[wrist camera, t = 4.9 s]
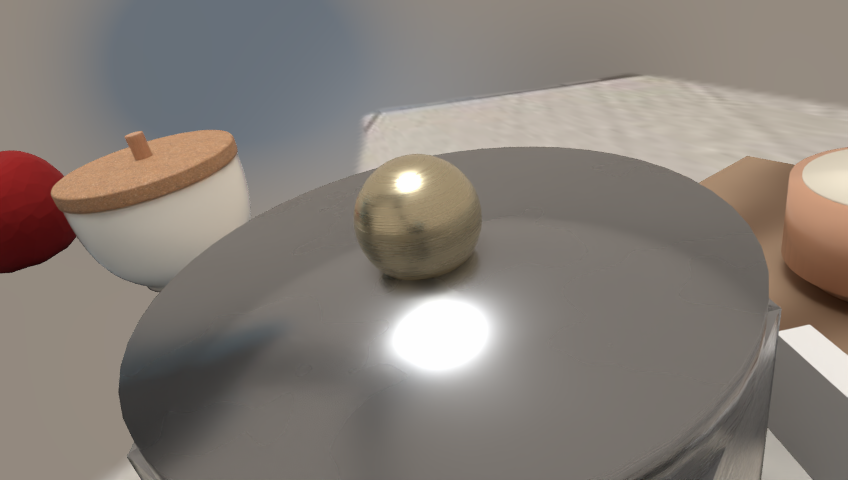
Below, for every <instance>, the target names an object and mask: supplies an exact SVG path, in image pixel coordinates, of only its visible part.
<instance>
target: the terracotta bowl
mask: <svg viewBox="0 0 848 480" xmlns="http://www.w3.org/2000/svg"><path fill="white" fill-rule="evenodd" d="M781 254H782V257H783V259H784V261H785V263H786V264H787V265H788V267H789V268H790V269H791V270H792V271H794V272H795V273H796V274H797V275H799V276H800V277H801V278H803V279H805V280H806V281H808V282H810V283H811V284H813V285H816V286H817V287H819V288H820V289H821V290H823V291H825V292H826V293H828V294H830V295H832V296H834V297H836V298H839V299H841V300H844V301H847V302H848V147H846V148H840V149H834V150H830V151H825V152H822V153H818V154H815V155H813V156H810V157H808V158H806V159H804V160H802V161H800V162H799V163H797V164H796V165H795V166H794V167H793V168H792V170H791V172H790V176H789V184H788V193H787V202H786V210H785V219H784V228H783V237H782V246H781Z"/></svg>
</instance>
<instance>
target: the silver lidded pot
mask: <svg viewBox="0 0 848 480" xmlns="http://www.w3.org/2000/svg"><path fill="white" fill-rule="evenodd" d="M781 310H782V309H781V307H780V306H778V305H777V304H775V303H774V302H773V301H772V300H771V299H769V271H768V267H767V264H766V260H765V257H764V253H763V250H762V246H761V245H760V243H759V241H758V240H757V238H756V236H755V234H754V233H753V231H752V229H751V228H750V226H749V224H748V223H747V222H746V221H745V220H744V219H743V218H742V217H741V216H740V215H739V213H738V212H737V211H736V210H735V209H734V208H733V207H732V206H731V205H730V204H728V203H727V202H726V201H724V200H723V199H722V198H721V197H719V196H718V195H717V194H715V193H714V192H713V191H711V190H710V189H708V188H706V187H704V186H703V185H701V184H699V183H697V182H695V181H694V180H692V179H690V178H688V177H686V176H683V175H681V174H679V173H676V172H674V171H672V170H669V169H667V168H664V167H661V166H658V165H655V164H652V163H648V162H645V161H642V160H638V159H634V158H629V157H625V156H621V155H616V154H611V153H604V152H598V151H591V150H583V149H571V148H559V147H504V148H489V149H477V150H468V151H460V152H452V153H446V154H440V155H433V156H431V155H424V154H411V155H405V156H401V157H397V158H394V159H392V160H390V161H388V162H386V163H385V164H383V165H381V166H380V167H378V168H376V169H372V170H369V171H366V172H362V173H359V174H355V175H352V176H349V177H347V178H344V179H341V180H338V181H335V182H332V183H329V184H327V185H324V186H322V187H319V188H316V189H314V190H311V191H309V192H307V193H304V194H302V195H299V196H298V197H295V198H293V199H291V200H288V201H286V202H284V203H282V204H280V205H278V206H276V207H274V208H272V209H270V210H268V211H266V212H264V213H262V214H261V215H259V216H257V217H255V218H253V219H252V220H250V221H248V222H246V223H245V224H243V225H241V226H240V227H238V228H236V229H235V230H233V231H232V232H230V233H229V234H227V235H226V236H224V237H223V238H221V239H220V240H218V241H217V242H215V243H214V244H212V245H211V246H210V247H209V248H207V249H206V250H205V251H203V252H202V253H201V254H200V255H198V256H197V257H196V258H195V259H193V260H192V261H191V262H190V263H189V264H188V265H187V266H185V267H184V268H183V269H182V270H181V271H180V272H179V273H178V274H177V275H176V276H175V277H174V278H172V280H171V281H170V282H169V283H168V284H167V285H166V286H165V287H164V288H163V290H162V291H161V292H160V293H159V294H158V295H157V296H156V298H155V299H154V300H153V301H152V303H151V304H150V306H149V307H148V309H147V310H146V311H145V313H144V314H143V316H142V317H141V319H140V320H139V322H138V324H137V326H136V328H135V330H134V332H133V334H132V336H131V338H130V340H129V342H128V344H127V348H126V351H125V354H124V357H123V360H122V364H121V369H120V380H119V398H120V403H121V410H122V415H123V419H124V421H125V423H126V425H127V428H128V429H129V432H130V434H131V436H132V438H133V440H134V443H133V445H132V448H131V450H130V452H129V454H128V455H127V458H128V459H129V461H130V463H131V464H132V466H133V467H134V469H135V470H136V472H137V474H138V475H139V477H140V478H141V480H761V475H762V467H763V459H764V451H765V442H766V434H767V426H768V418H769V409H770V401H771V393H772V385H773V376H774V368H775V360H776V351H777V343H778V335H779V327H780V318H781Z"/></svg>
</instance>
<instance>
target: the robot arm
mask: <svg viewBox="0 0 848 480" xmlns="http://www.w3.org/2000/svg"><path fill="white" fill-rule="evenodd" d="M767 427H768V428H769V429H770V431H771V432H772V433H773V434H774V435H775V436H776V438H777V439H778V440H779V441H780V442H781V443H782V444H783V446H784V447H785V448H786V449H787V450H788V451H789V453H790V454H791V455H792V456H793V457H794V458H795V459H796V461H797V462H798V463H799V464H800V465H801V466H802V468H803V469H804V470H805V471H806V472H807V473H808V475H809V476H810V477H811V478H812V479H813V480H848V355H847V354H845V353H844V352H843V351H842V350H841V349H839V348H838V347H837V346H836V345H834V344H833V343H832V342H831V341H829V340H828V339H827V338H826V337H825V336H823V335H822V334H821V333H820V332H818V331H817V330H816V329H815V328H814V327H812V326H811V325H805V326H801V327H796V328H792V329H787V330H783V331H779V335H778V343H777V351H776V360H775V368H774V376H773V385H772V393H771V401H770V409H769V418H768V426H767Z"/></svg>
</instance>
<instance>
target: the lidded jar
mask: <svg viewBox="0 0 848 480" xmlns="http://www.w3.org/2000/svg"><path fill="white" fill-rule="evenodd" d="M125 139H126V141H127V143H128V145H129V147H128V148H125V149H122V150H120V151H117V152H114V153H111V154H109V155H106V156H104V157H102V158H99V159H97V160H95V161H92V162H90V163H88V164H86V165H84V166H82V167H80V168H78V169H76V170H74V171H73V172H71V173H69V174H68V175H66V176H65V177H63V178H62V179H61V180H59V181H58V182H57V183H56V184H55V185H54V186H53V188H52V190H51V196H52V198H53V200H54V202H55V204H56V206H57V207H58V209H59V210H61V211H62V212H63V213H64V215H65V217H66V219H67V221H68V223H69V224H70V226H71V228H72V229H73V231H74V233H75V234H76V236H77V238H78V239H79V240H80V242H81V243H82V244H83V246H84V247H85V248H86V250H87V251H88V252H89V253H90V254H91V255H92V256H93V257H94V259H95V260H96V261H97V262H98V263H99V264H101V265H102V266H103V267H105V268H106V269H107V270H108V271H110V272H111V273H113V274H114V275H116V276H118V277H120V278H122V279H124V280H127V281H130V282H133V283H136V284H140V285H144V286H147V287H148V288H149V289H150V290H152V291H155V292H161V291H162V290H163V288H164V287H165V286H166V285H167V284H168V283H169V282H170V281H171V280H172V278H174V277H175V276H176V275H177V274H178V273H179V272H180V271H181V270H182V269H183V268H184V267H185V266H187V265H188V264H189V263H190V262H191V261H192V260H193V259H195V258H196V257H197V256H198V255H200V254H201V253H202V252H203V251H205V250H206V249H207V248H209V247H210V246H211V245H212V244H214V243H215V242H217V241H218V240H220V239H221V238H223V237H224V236H226V235H227V234H229V233H230V232H232V231H233V230H235V229H236V228H238V227H240V226H241V225H243V224H245V223H246V222H248V221H250V209H251V207H250V198H249V191H248V187H247V182H246V177H245V174H244V171H243V168H242V165H241V162H240V159H239V157H238V154H237V146H236V143H235V140H234V138H233V136H232V135H231V134H230V133H229V132H226V131H221V130H201V131H193V132H187V133H180V134H176V135H171V136H167V137H163V138H158V139H155V140H151V141H148V142H147V141H146V138H145V136H144V134H143V132H142V131H138V132H134V133H131V134H128V135H126V136H125Z"/></svg>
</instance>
